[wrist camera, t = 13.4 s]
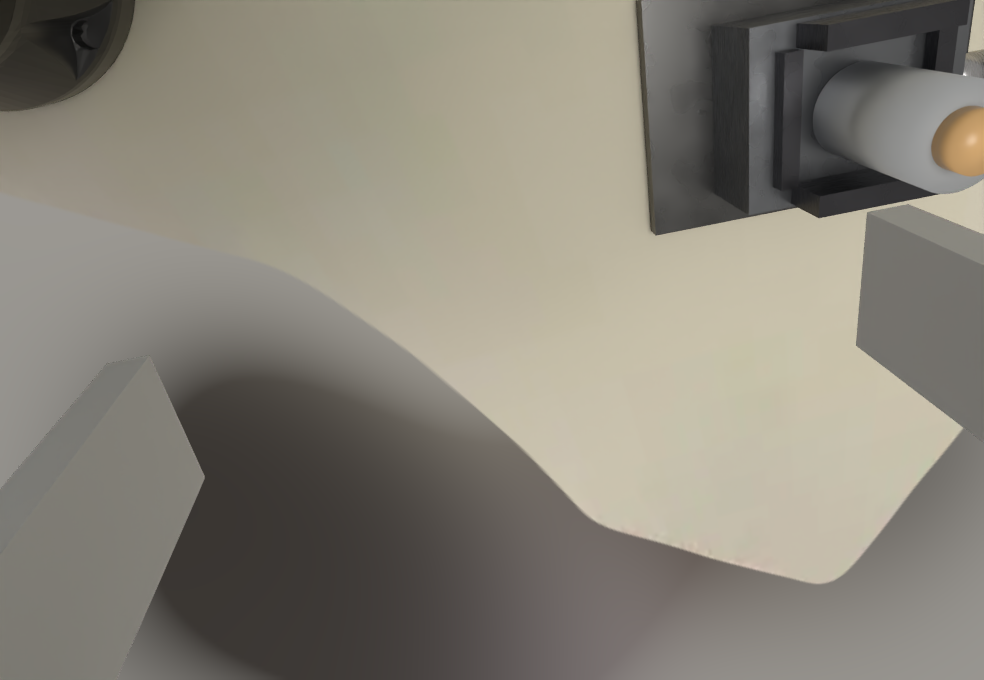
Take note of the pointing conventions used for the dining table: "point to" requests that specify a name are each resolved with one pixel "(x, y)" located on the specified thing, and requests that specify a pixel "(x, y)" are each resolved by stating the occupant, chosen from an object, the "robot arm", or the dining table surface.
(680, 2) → the stepped square mount
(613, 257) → the dining table surface
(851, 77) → the grey cylinder with ball
